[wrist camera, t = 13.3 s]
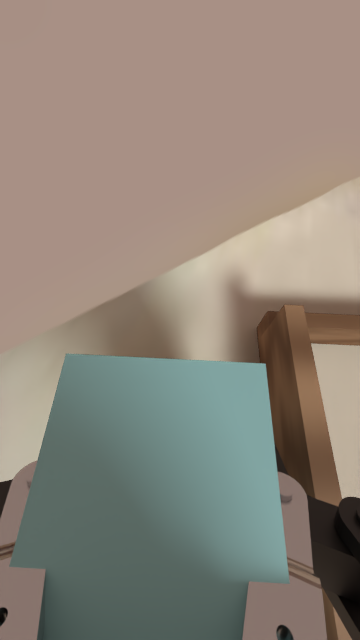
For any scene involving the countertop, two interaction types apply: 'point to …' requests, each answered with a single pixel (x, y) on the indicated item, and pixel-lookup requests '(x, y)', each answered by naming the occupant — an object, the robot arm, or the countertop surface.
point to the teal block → (154, 499)
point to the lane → (304, 405)
